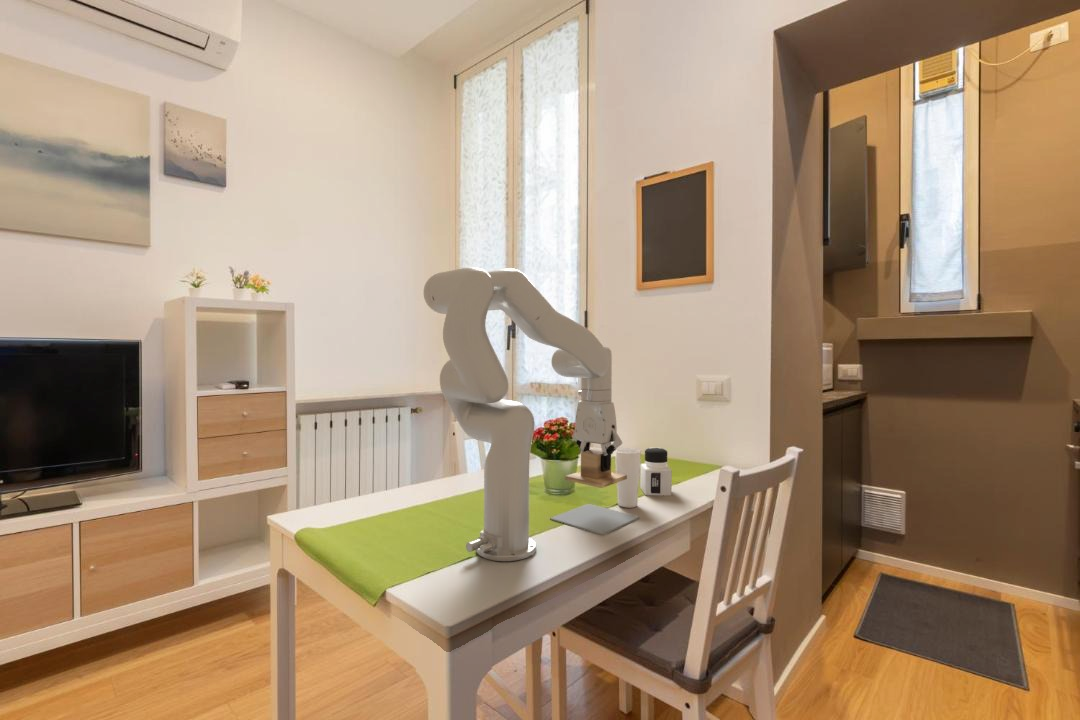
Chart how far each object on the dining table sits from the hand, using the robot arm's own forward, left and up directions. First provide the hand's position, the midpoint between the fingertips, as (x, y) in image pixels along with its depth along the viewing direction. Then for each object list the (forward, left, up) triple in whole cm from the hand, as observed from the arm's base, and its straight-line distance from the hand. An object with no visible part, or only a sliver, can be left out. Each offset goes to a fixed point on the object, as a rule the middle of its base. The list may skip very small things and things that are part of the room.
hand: (596, 468), depth 129 cm
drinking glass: (+15, 0, -13) cm, 20 cm away
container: (+32, +1, -13) cm, 34 cm away
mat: (0, 0, -13) cm, 13 cm away
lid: (0, 0, -3) cm, 3 cm away
